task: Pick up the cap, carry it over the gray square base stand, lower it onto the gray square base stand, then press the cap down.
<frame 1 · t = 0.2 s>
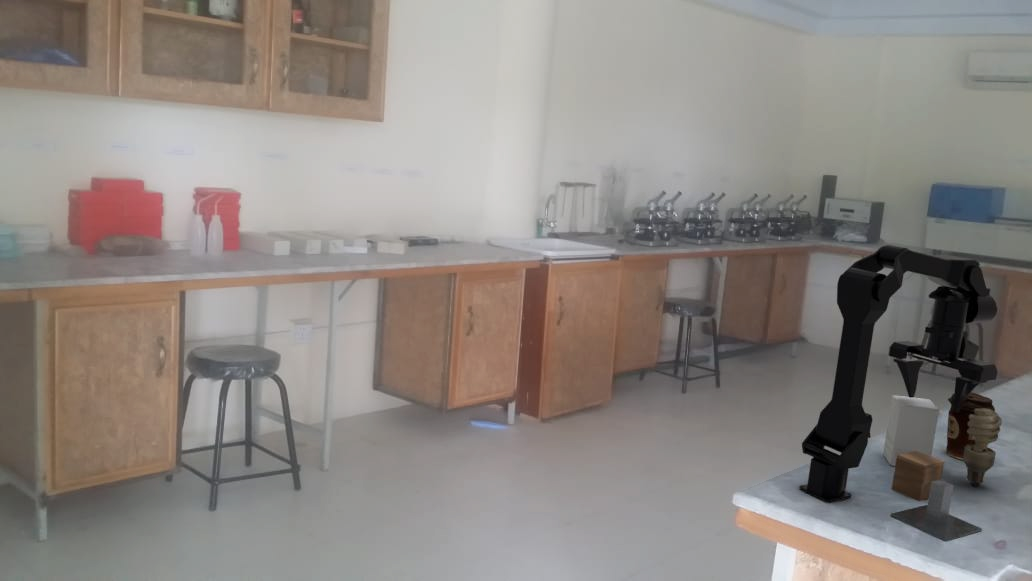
hand: (933, 404, 168), 14 cm above the table, fingers open, 9 cm apart
light bulb: (973, 486, 167), on the table
gray square base stand: (935, 523, 148), on the table
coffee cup: (961, 457, 184), on the table
supplement box: (905, 463, 177), on the table
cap: (914, 492, 161), on the table
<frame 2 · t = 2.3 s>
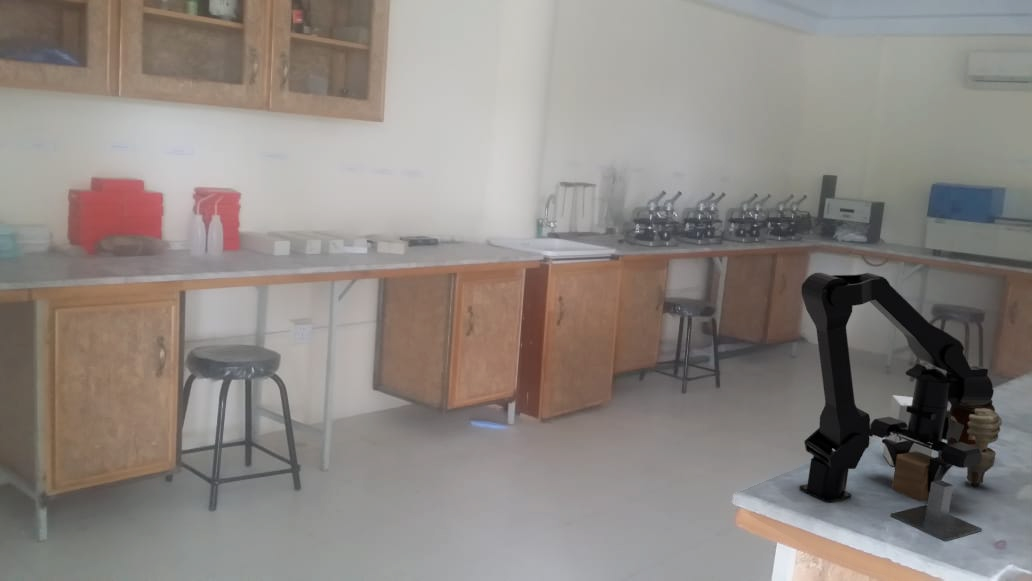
hand: (915, 486, 161), 1 cm above the table, fingers closed on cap, 6 cm apart
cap: (914, 492, 161), on the table, touching gripper
everything else where it was.
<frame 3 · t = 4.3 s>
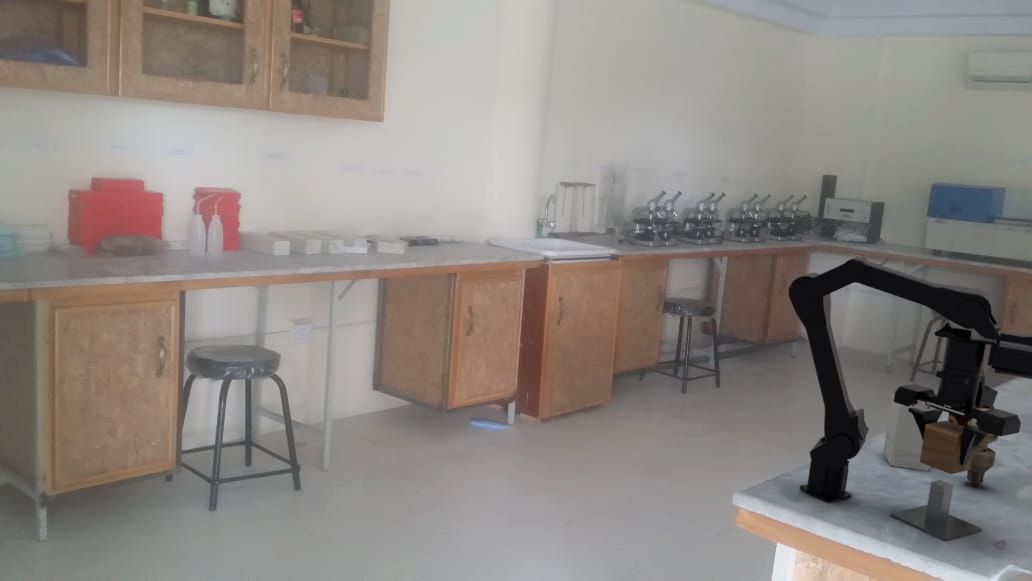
hand: (946, 458, 147), 11 cm above the table, fingers closed on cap, 6 cm apart
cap: (945, 465, 147), point 10 cm above the table, touching gripper
everything else where it was.
when the fingers open (3 cm above the table, at t = 6.2 s): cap stays where it is, resting on gray square base stand.
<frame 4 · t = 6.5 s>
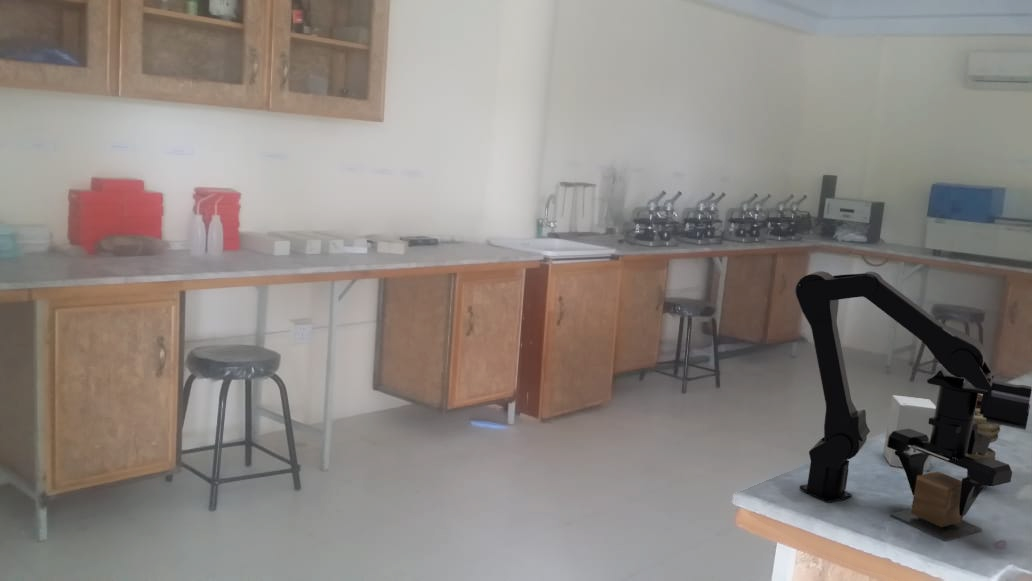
hand: (938, 505, 147), 3 cm above the table, fingers open, 8 cm apart
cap: (936, 517, 148), point 1 cm above the table, touching gray square base stand
everything else where it was.
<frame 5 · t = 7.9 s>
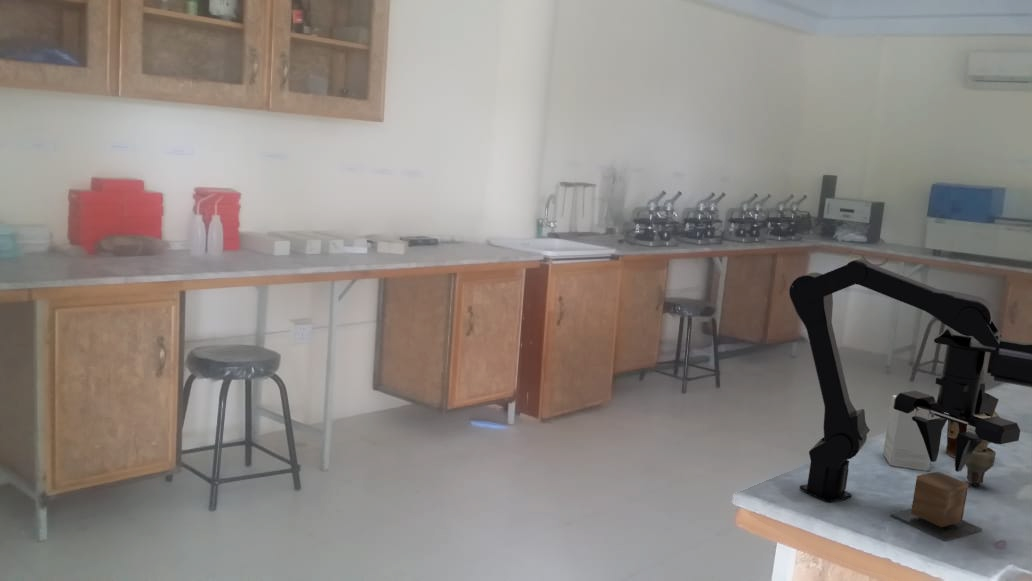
hand: (945, 466, 146), 10 cm above the table, fingers open, 4 cm apart
nothing on the table moved.
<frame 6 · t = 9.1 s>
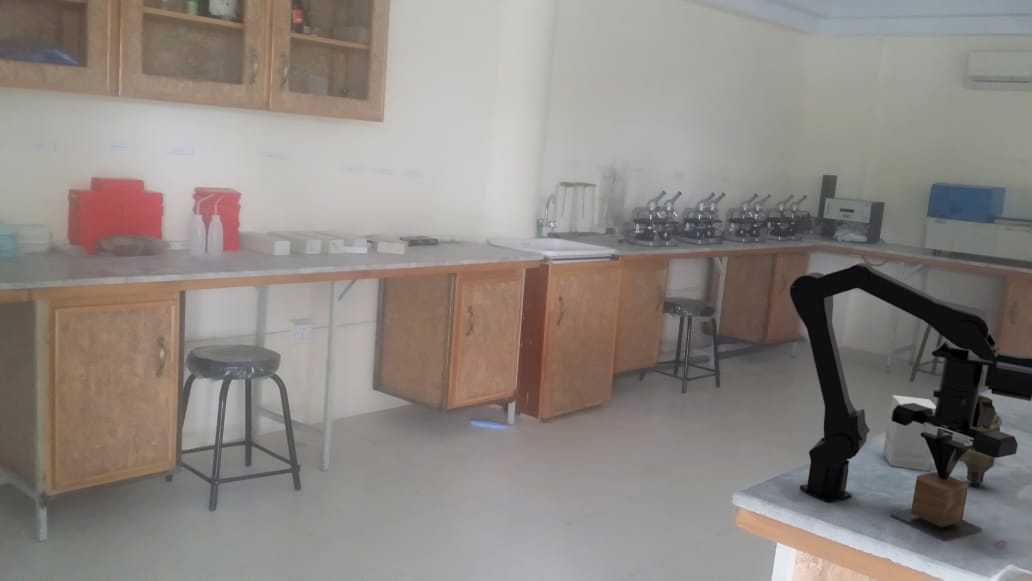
hand: (943, 478, 146), 8 cm above the table, fingers closed
nothing on the table moved.
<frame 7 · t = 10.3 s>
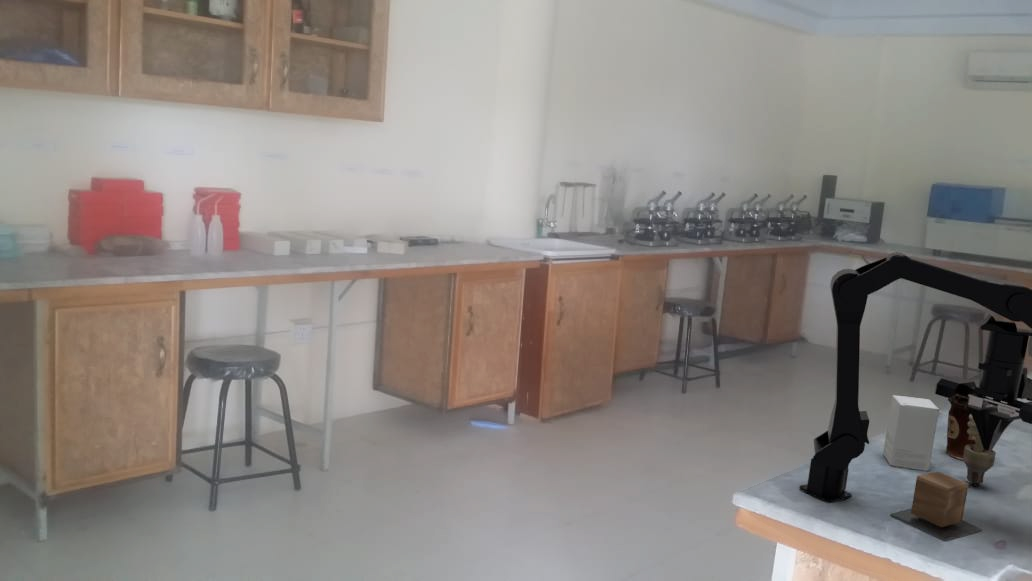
hand: (987, 450, 148), 13 cm above the table, fingers closed
nothing on the table moved.
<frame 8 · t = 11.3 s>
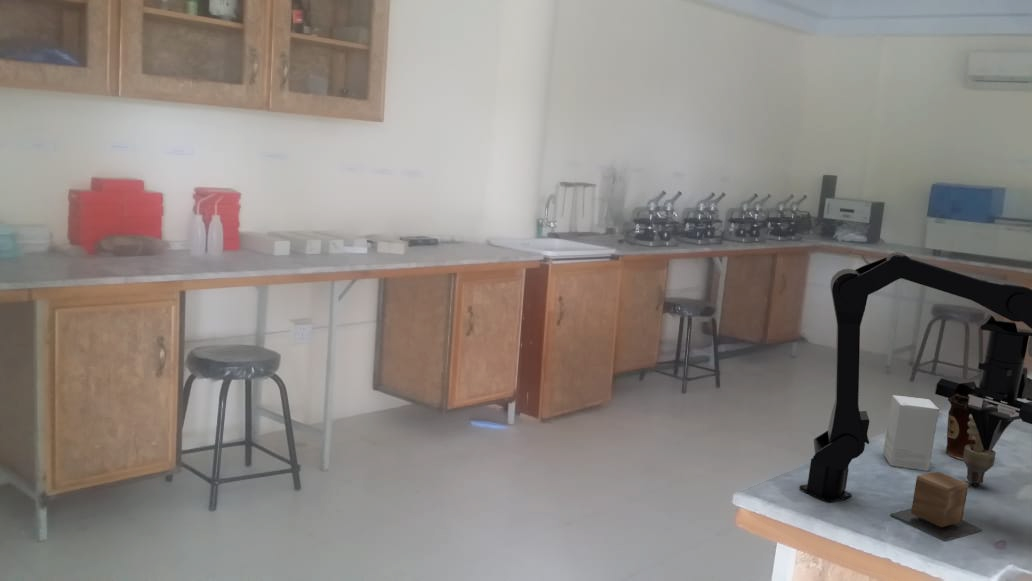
hand: (987, 450, 148), 12 cm above the table, fingers closed
nothing on the table moved.
at the end: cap 0.1 cm from the gray square base stand (horizontally); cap point 1.0 cm above the table; the gripper is holding nothing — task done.
